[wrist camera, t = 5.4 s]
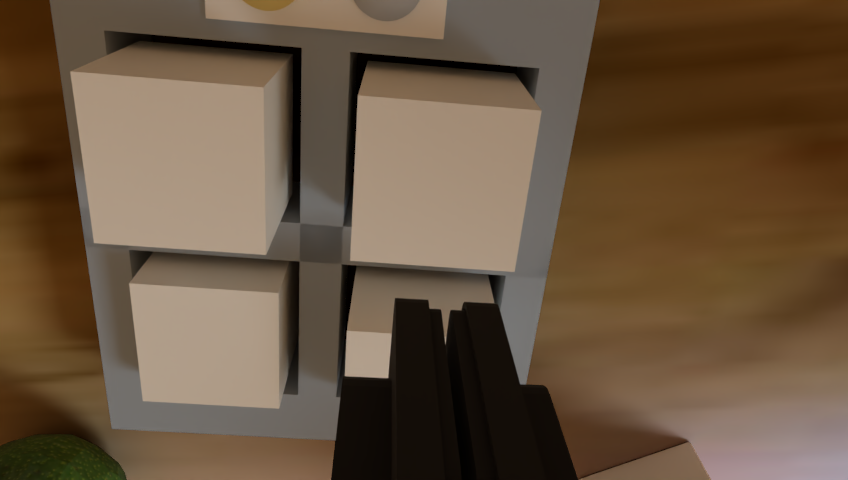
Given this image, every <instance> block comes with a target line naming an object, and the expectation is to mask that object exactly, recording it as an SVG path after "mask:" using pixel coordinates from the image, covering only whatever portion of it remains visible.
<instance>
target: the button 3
mask: <svg viewBox="0 0 848 480" xmlns="http://www.w3.org/2000/svg"><path fill="white" fill-rule="evenodd" d="M541 112H542V110H541V109H540V108H539V106H538V105H537V103H536V102H535V101H534V99H533V98H532V97H531V95H530V94H529V92H528V91H527V90H526V88H525V87H524V85H523V84H522V83H521V81H520V80H519V78H518V77H517V76H516V74H515V73H506V72H494V71H482V70H471V69H459V68H448V67H436V66H425V65H413V64H402V63H390V62H378V61H368V62H367V65H366V69H365V72H364V76H363V79H362V83H361V86H360V89H359V93H358V102H357V123H356V145H355V166H354V188H353V209H352V231H351V252H350V261H361V262H376V263H390V264H405V265H419V266H434V267H448V268H463V269H478V270H492V271H507V272H515V267H516V261H517V255H518V249H519V243H520V237H521V231H522V225H523V219H524V213H525V207H526V201H527V195H528V189H529V183H530V177H531V171H532V165H533V159H534V154H535V148H536V142H537V136H538V130H539V124H540V118H541Z"/></svg>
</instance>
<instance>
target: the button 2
mask: <svg viewBox="0 0 848 480" xmlns="http://www.w3.org/2000/svg"><path fill="white" fill-rule="evenodd" d="M299 272H300V261H285V260H271V259H256V258H241V257H227V256H212V255H197V254H183V253H168V252H153V253H152V254H151V256H150V257H149V258H148V260H147V261H146V262H145V263H144V265H143V266H142V267H141V269H140V270H139V271H138V272H137V274H136V275H135V276H134V278H133V279H132V280H131V281H130V283H129V287H130V296H131V305H132V313H133V322H134V330H135V339H136V347H137V356H138V365H139V373H140V382H141V390H142V399H143V401H149V402H167V403H185V404H203V405H221V406H239V407H257V408H275V409H279V407H280V404H281V400H282V396H283V392H284V388H285V385H286V381H287V377H288V373H289V370H290V366H291V362H292V358H293V354H294V351H295V347H296V343H297V339H298V336H299Z"/></svg>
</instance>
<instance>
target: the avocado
mask: <svg viewBox="0 0 848 480" xmlns="http://www.w3.org/2000/svg"><path fill="white" fill-rule="evenodd" d="M0 480H127V479H126V476H125V472H124V471H123V469H122V468H121V466H120V465H119V463H118V462H117V461H115V460H114V459H113V458H112V457H111V456H109V455H108V454H107V453H106V452H105V451H103V450H102V449H101V448H99V447H98V446H97V445H94V444H92V443H90V442H88V441H86V440H83V439H81V438H79V437H77V436H74V435H70V434H37V435H33V436H29V437H26V438H22V439H18V440H14V441H11V442H8V443H6V444H4V445H2V446H0Z"/></svg>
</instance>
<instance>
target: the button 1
mask: <svg viewBox="0 0 848 480" xmlns="http://www.w3.org/2000/svg"><path fill="white" fill-rule="evenodd" d="M70 73H71V81H72V88H73V95H74V102H75V109H76V117H77V124H78V131H79V138H80V145H81V153H82V160H83V167H84V174H85V182H86V189H87V196H88V203H89V210H90V218H91V225H92V232H93V239H94V243H99V244H114V245H128V246H143V247H157V248H172V249H186V250H201V251H216V252H230V253H245V254H259V255H266V254H267V251H268V249H269V247H270V244H271V242H272V240H273V237H274V235H275V233H276V230H277V228H278V226H279V223H280V221H281V219H282V216H283V214H284V212H285V209H286V207H287V205H288V202H289V200H290V198H291V195H292V159H293V54H286V53H274V52H263V51H251V50H240V49H228V48H217V47H205V46H194V45H182V44H171V43H159V42H147V41H139V42H136V43H134V44H132V45H129V46H127V47H125V48H123V49H120V50H118V51H116V52H113V53H111V54H109V55H107V56H104V57H102V58H100V59H97V60H95V61H93V62H91V63H88V64H86V65H84V66H81V67H79V68H77V69H75V70H72V71H70Z"/></svg>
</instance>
